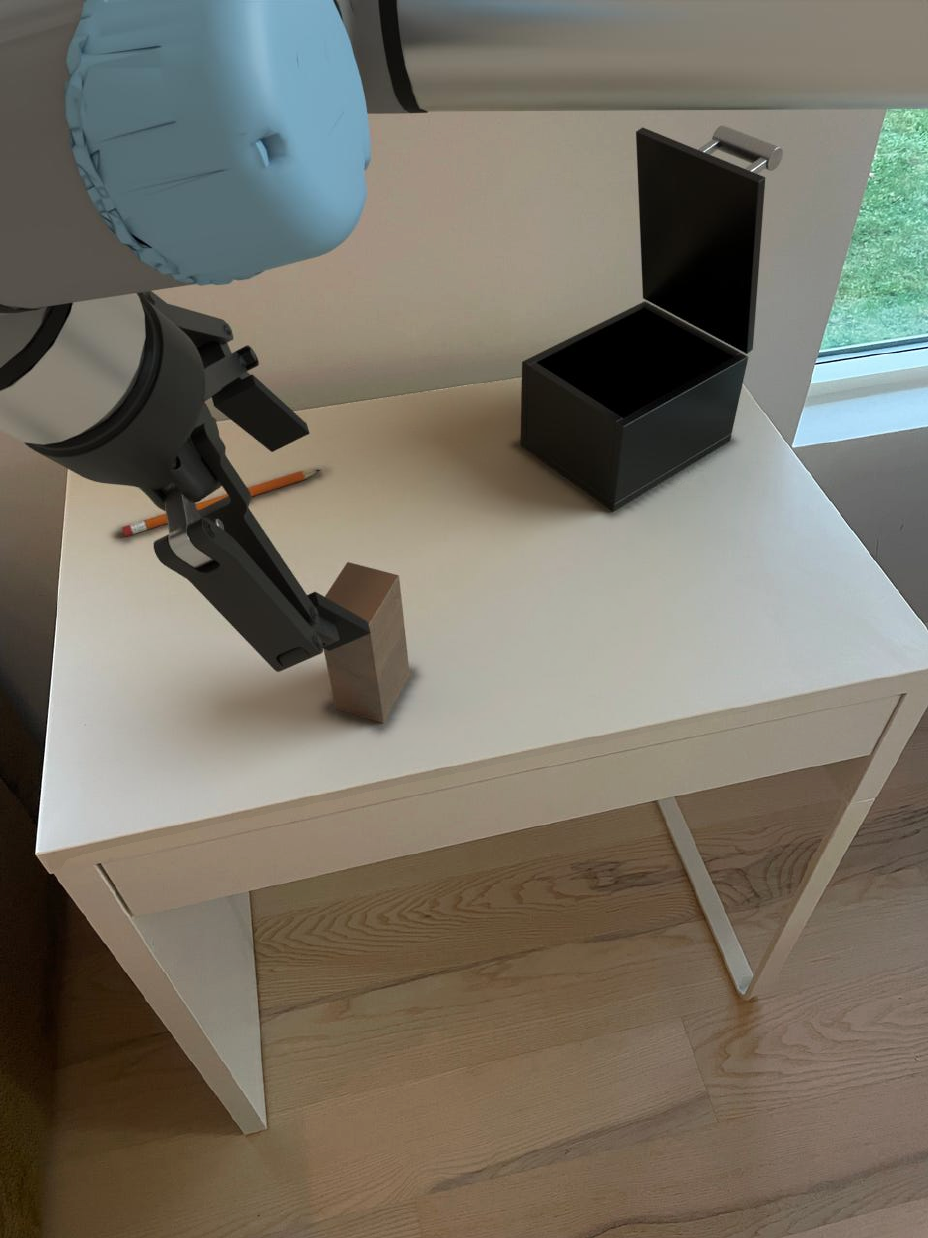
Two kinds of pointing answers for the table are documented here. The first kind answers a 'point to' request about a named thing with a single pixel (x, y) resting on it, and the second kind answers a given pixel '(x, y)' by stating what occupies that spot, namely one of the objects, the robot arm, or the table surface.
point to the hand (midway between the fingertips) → (317, 533)
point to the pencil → (253, 491)
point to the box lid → (703, 229)
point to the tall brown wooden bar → (369, 644)
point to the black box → (630, 402)
